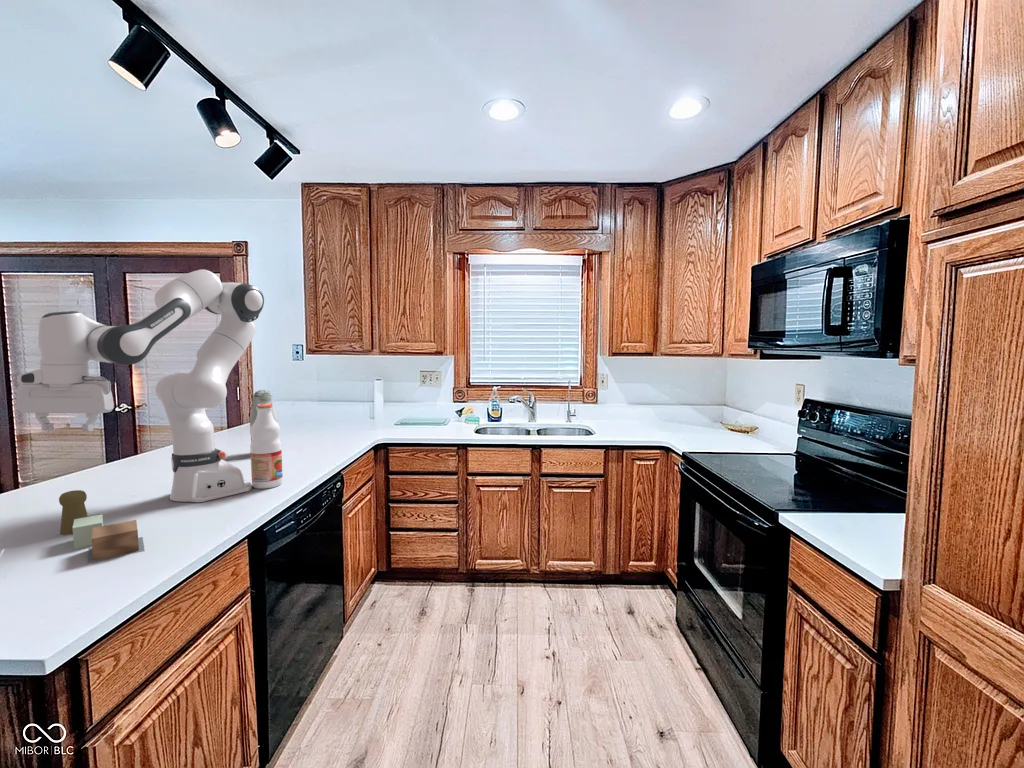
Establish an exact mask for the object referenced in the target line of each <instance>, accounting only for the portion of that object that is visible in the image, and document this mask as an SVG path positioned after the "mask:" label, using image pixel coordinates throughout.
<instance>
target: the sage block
mask: <svg viewBox="0 0 1024 768" xmlns="http://www.w3.org/2000/svg"><path fill="white" fill-rule="evenodd" d="M103 516H104V515H103V514H98V515H91V516H88V517H84V518H79V519H74V523H73V534H72V538H73V539H72V540H73V549H74V550H77V549H82V548H86V547H92V530H93V528H95V527H100V526H104V517H103Z"/></svg>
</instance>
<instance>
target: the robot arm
mask: <svg viewBox="0 0 1024 768" xmlns="http://www.w3.org/2000/svg"><path fill="white" fill-rule="evenodd" d="M154 303H155V306H156V307H157V308H156V309H155V310H153V311H152V312H150V313H149V314H147V315H146V316H144V317H142V318H141V319H140V320H138V321H137V322H135V323H131V324H124V325H115V326H114V325H110V326H109V325H106V324H103V323H101V322H98V321H95V320H94V319H92V318H89V317H88V316H86V315H85V314H84V313H82V312H81V311H76V310H69V311H56V312H55V311H54V312H48V313H45V314H43V315H42V317H40V320H39V325H38V349H39V351H40V352H41V358H40V361H39V368H38V369H34V370H32V371H28V372H25V373H21V374H20V373H19V374H18V375H17V376H16V381H17V383H18V384H20V385H18V386H17V389H16V407H17V410H18V411H19V412H20V413H21V414H35V419H36V420H37V421H38V422H39V424H40V425H41V426H40V427H41V431H42V432H49V431H54V429H55V428H54V424H55V423H54V422H50V420H49V418H48V417H49V414H85V417H86V418H87V420H86V422H85V423H82V424H81V429H82V431H83V432H92V431H94V430H95V423H96V421H97V419H98V418H99V414H105V413H111V412H112V411H113V410H114V408H115V402H114V398H113V393H112V387H111V386H112V384H111V381H110V380H109V379H107V378H106V377H104V376H101V375H100V376H99V375H98V376H91V375H89V371H90V370H89V361H95V362H101V363H110V364H112V363H113V364H118V365H121V366H122V365H123V366H124V365H125V366H128V365H129V366H130V365H134V364H137V363H139V362H142V361H143V360H144V359H145V358H146V357H147V355H148V354H149V353H150V352H151V350H152V348H153V346H154V345H155V344H156V343H157V342H158V341H159V340H161V339H162V338H163V337H164V336H167V334H169V333H170V332H171V331H173V330H175V329H176V327H178V326H180V325H181V324H182V323H183V322H185V321H186V320H187V319H190V318H192V317H193V316H195V315H197V314H198V313H200V312H201V311H203V310H206V311H207V312H209V313H210V314H211V313H212V314H214V315H221V319H220V321H219V324H218V326H217V327H215V329H214V330H213V331H212V332H211V333H210V335H209V336H208V337H207V338H206V340H205V341H204V342H203V344H202V345H201V346H199V347H200V348H199V349H198V350H197V351H196V361H195V364H194V367H193V368H192V370H191V371H189V372H188V373H184V372H176V373H170V374H168V375H166V376H163V377H161V378H160V379H159V380H158V381H157V383H156V386H155V393H156V396H157V398H158V399H159V400H160V401H161V403H162V405H163V407H164V410H165V414H166V417H167V419H168V422H169V425H170V429H171V439H172V440H171V441H172V453H171V458H170V459H171V470H172V471H173V476H172V477H173V479H172V486H171V492H170V496H169V499H170V500H171V501H174V502H184V503H185V502H190V503H204V502H207V501H212V500H216V499H220V498H225V497H229V496H232V495H237V494H242V493H246V492H249V491H251V490H252V488H253V486H252V482H250V481H249V480H247V479H244V475H243V472H242V469H240V468H239V467H238V466H236V465H234V464H232V463H230V462H228V461H227V460H224V459H225V458H226V456H227V453H226V452H225V451H223V450H221V449H218V448H215V444H216V443H215V428H214V427H215V426H214V424H213V422H212V421H211V420H210V419H209V417H208V415H207V413H206V410H210V409H214V408H217V407H219V406H221V405H223V403H224V402H225V400H226V398H227V395H228V389H227V385H226V383H227V381H228V378H229V376H230V373H231V371H232V370H233V368H234V367H235V365H236V364H237V363H238V361H239V360H240V358H242V356H243V354H244V353H245V352H246V350H247V349H248V347H249V345H250V343H251V342H252V339H253V338H254V335H255V334H256V331H257V330H256V324H255V323H254V321H256V320H257V319H258V318H259V316H260V314H261V312H262V311H263V308H264V304H265V297H264V294H263V292H262V290H260V289H259V288H258V287H257V286H255V285H253V284H249V283H239V282H234V281H233V282H231V281H228V282H222V281H221V279H220V278H219V276H218V275H216V274H215V273H214V272H212V271H210V270H207V269H197V270H193V271H191V272H188V273H186V274H185V273H184V274H182V275H180V276H179V277H178V276H177V277H176V278H174V279H173V280H171V281H169V282H167V283H166V284H164V285H163V286H162V287H160V288H159V289H158V290H156V292H155V293H154Z"/></svg>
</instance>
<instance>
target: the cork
mask: <svg viewBox="0 0 1024 768" xmlns="http://www.w3.org/2000/svg"><path fill="white" fill-rule="evenodd" d="M86 501H87V493H86V491H84V490H81V489H80V490H79V489H78V490H69V491H65V492H63V493H62V494H60V496H59V497H58V502H59V504H60V506H62V507H61V508H62V510H61V521H60V527H59V528H60V529H59V535H61V536H68V535H69V536H70V535H73V523H74V519H79V518H84V517H89V515H88V512H87V508H86V504H85V502H86Z"/></svg>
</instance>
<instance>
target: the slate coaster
mask: <svg viewBox="0 0 1024 768" xmlns="http://www.w3.org/2000/svg"><path fill="white" fill-rule="evenodd" d="M138 543H139V551H135V552H130V553H126V554H121V555H117V556H112V557H108V558H103V559H99V560H94V561H93V550H92V547H88V553H87V559H86V560H87V561H86V564H87V565H88V564H92V563H97V562H101V561H106V560H110V559H114V558H119V557H120V558H121V557H123V556H128V555H133V554H137V553H141V552H145V545H144V538H143V537H142V536H141V537H138Z"/></svg>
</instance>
